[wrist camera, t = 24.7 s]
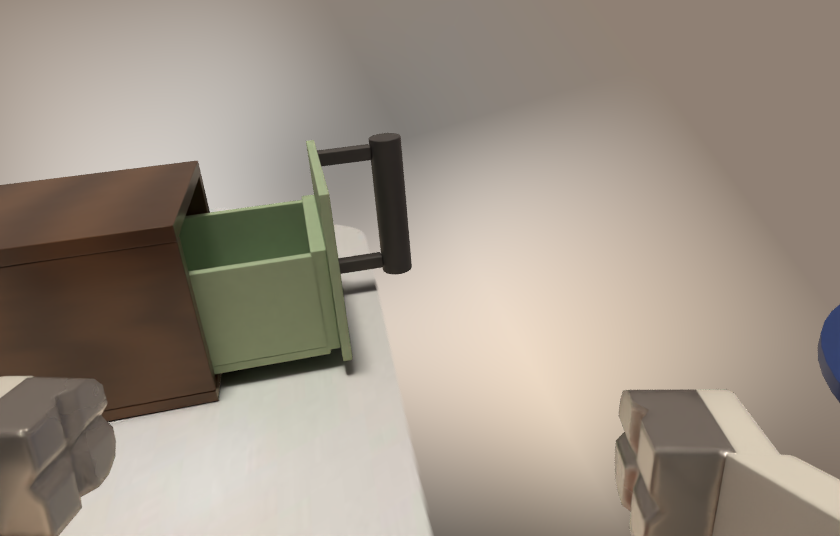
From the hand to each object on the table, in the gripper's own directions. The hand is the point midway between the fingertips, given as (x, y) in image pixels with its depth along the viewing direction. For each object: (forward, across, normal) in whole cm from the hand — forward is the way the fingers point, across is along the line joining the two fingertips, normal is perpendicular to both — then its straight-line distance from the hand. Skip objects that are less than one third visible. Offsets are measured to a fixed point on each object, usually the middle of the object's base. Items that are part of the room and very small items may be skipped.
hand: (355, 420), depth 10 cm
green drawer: (+33, +12, +14) cm, 38 cm away
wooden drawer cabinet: (+30, +24, +16) cm, 41 cm away
